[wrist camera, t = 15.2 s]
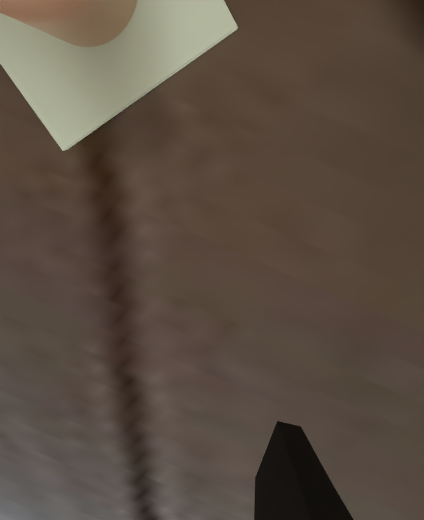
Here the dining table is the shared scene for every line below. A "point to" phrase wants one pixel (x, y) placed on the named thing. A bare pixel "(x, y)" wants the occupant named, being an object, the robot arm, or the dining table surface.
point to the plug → (73, 18)
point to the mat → (107, 63)
